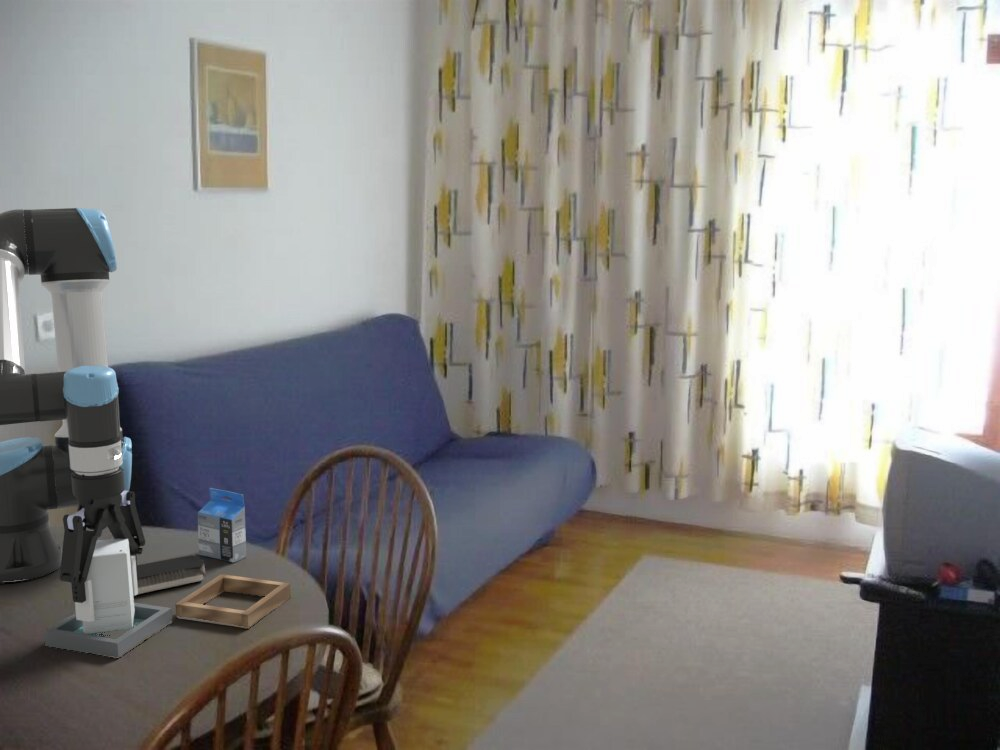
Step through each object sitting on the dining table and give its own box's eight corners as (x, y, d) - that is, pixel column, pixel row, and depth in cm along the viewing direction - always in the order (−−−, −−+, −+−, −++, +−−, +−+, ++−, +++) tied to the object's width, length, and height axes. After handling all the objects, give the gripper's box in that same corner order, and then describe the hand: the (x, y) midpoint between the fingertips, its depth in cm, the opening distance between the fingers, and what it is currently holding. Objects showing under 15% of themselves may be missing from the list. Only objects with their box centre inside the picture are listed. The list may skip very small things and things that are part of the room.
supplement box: (135, 611, 173) (130, 536, 171) (132, 630, 166) (127, 552, 163) (86, 616, 171) (80, 540, 169) (81, 635, 164) (75, 557, 162)
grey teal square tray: (45, 646, 165) (43, 631, 164) (102, 612, 177) (101, 597, 177) (118, 658, 161) (117, 643, 160) (172, 622, 173) (171, 608, 173)
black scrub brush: (114, 604, 181) (112, 583, 180) (102, 587, 188) (101, 567, 187) (210, 584, 190) (208, 564, 189) (195, 569, 197) (194, 550, 196)
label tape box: (197, 555, 202) (194, 492, 200) (213, 548, 206) (209, 486, 204) (233, 563, 198) (229, 499, 196) (248, 556, 202) (245, 493, 199)
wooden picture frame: (176, 618, 175) (175, 603, 174) (222, 587, 187) (221, 574, 187) (248, 629, 171) (247, 614, 170) (290, 597, 183) (290, 583, 182)
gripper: (66, 492, 152) (79, 639, 156) (163, 451, 173) (171, 582, 177) (23, 487, 154) (37, 632, 159) (123, 448, 175) (133, 577, 180)
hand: (108, 606), depth 168 cm, fingers closed on supplement box, 10 cm apart
